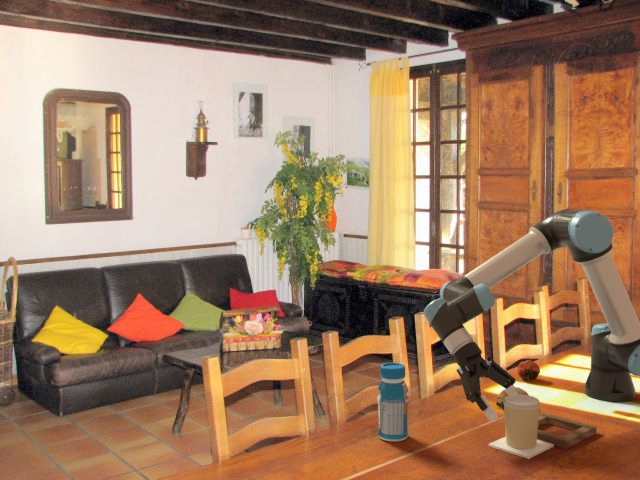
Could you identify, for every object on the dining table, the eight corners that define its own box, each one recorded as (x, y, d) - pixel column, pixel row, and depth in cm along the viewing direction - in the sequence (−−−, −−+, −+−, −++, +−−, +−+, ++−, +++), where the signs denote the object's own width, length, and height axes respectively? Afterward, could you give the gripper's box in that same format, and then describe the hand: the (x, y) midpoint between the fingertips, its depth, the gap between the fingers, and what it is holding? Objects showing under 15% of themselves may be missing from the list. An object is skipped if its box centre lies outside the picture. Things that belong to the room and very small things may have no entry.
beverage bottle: (388, 444, 196) (388, 371, 194) (371, 434, 203) (371, 363, 201) (414, 439, 199) (414, 366, 198) (397, 429, 207) (397, 359, 205)
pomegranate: (540, 389, 251) (542, 366, 257) (537, 376, 246) (538, 352, 253) (518, 389, 254) (520, 366, 261) (514, 376, 249) (516, 353, 256)
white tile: (514, 434, 202) (514, 432, 202) (553, 446, 193) (553, 444, 193) (488, 446, 194) (488, 443, 194) (528, 459, 185) (528, 456, 185)
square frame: (544, 419, 214) (544, 412, 214) (596, 433, 202) (596, 426, 202) (513, 433, 203) (513, 426, 203) (566, 448, 191) (566, 441, 191)
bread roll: (525, 424, 220) (537, 401, 219) (493, 408, 222) (505, 385, 220) (523, 414, 230) (534, 392, 229) (492, 398, 231) (504, 376, 230)
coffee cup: (540, 439, 196) (541, 395, 195) (538, 452, 187) (539, 406, 186) (504, 435, 199) (505, 392, 198) (501, 448, 191) (501, 403, 189)
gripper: (481, 348, 215) (525, 410, 206) (427, 364, 198) (473, 432, 189) (496, 333, 211) (543, 396, 201) (443, 348, 194) (491, 417, 184)
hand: (509, 413), depth 195 cm, fingers open, 13 cm apart
